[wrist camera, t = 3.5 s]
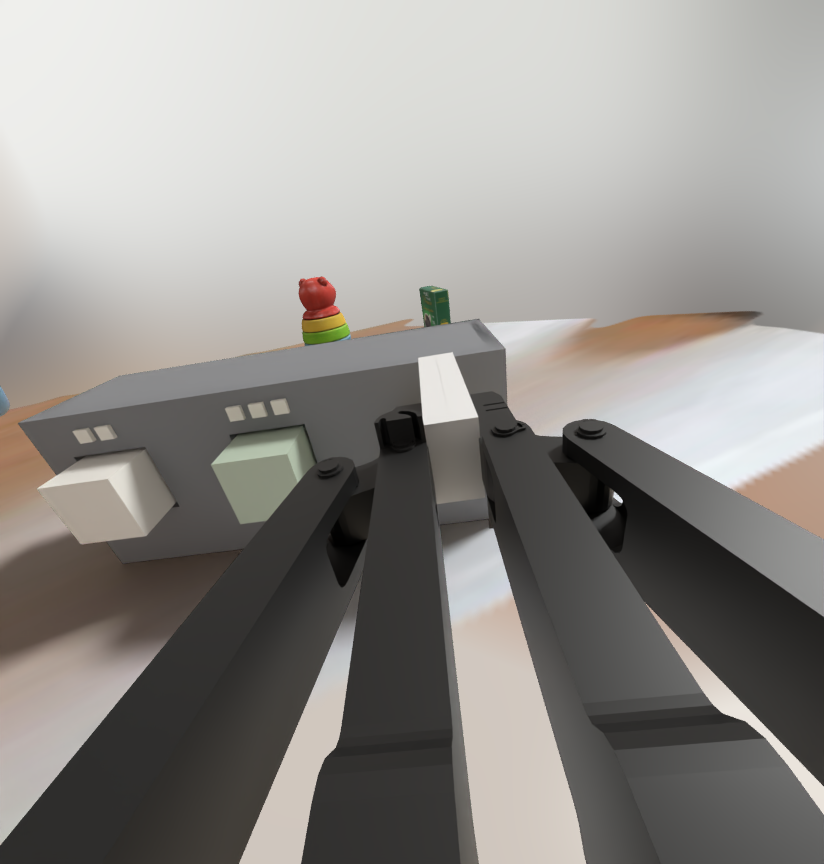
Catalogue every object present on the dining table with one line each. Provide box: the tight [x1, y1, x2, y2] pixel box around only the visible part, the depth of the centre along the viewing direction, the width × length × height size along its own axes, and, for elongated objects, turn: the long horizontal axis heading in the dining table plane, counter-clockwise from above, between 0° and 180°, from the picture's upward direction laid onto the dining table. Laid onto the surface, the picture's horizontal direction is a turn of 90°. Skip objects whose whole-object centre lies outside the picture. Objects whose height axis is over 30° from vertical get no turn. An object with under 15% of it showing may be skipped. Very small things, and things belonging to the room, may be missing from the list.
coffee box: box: [419, 286, 451, 327], centre depth 67 cm, size 8×3×13 cm, turn 17°
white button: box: [37, 447, 177, 544], centre depth 27 cm, size 6×5×5 cm
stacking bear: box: [299, 277, 351, 346], centre depth 72 cm, size 11×10×18 cm
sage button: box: [211, 424, 317, 524], centre depth 26 cm, size 6×5×5 cm
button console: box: [18, 319, 507, 564], centre depth 32 cm, size 10×34×14 cm, turn 90°
